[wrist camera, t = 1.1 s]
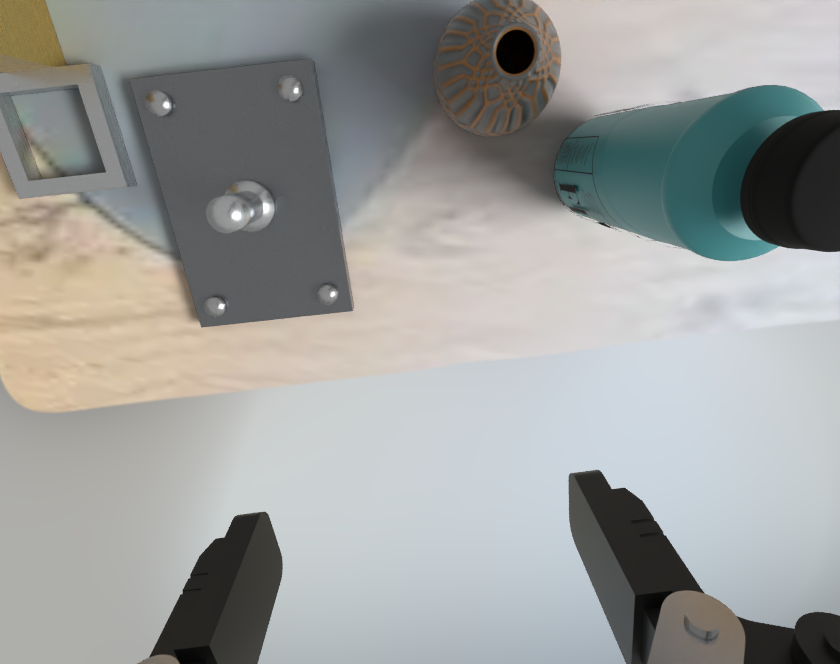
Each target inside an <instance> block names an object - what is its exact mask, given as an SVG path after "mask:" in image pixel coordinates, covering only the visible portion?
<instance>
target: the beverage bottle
mask: <svg viewBox="0 0 840 664" xmlns="http://www.w3.org/2000/svg"><path fill="white" fill-rule="evenodd" d="M657 103H658V102H657ZM646 106H647V105H646ZM639 107H643V105H642V106H639ZM634 108H637V107H634ZM634 108H632V107H631V109H633V110H632V111H627V112H622V113H618V112H619V111H618V110H616V111H615V112H617V114H611V115H606V116H601V117H597V118H594V119H591V120H589V121H587V122H585V123H584V124H582V125H581V126H579V127H578V128H577V129H576V130H575V131H573V132H572V133H571V135H570V136H569V137H568V138H566V139H567V140H566V139H565V140H566V141H565V140H564V141H565V143H564V144H563V143H562V144H563V146H562V145H561V146H562V148H561V147H560V148H561V150H560V149H559V150H560V152H559V151H558V152H559V154H557V155H558V157H556V158H557V161H555V162H556V165H555V166H554V168H555V169H554V170H555V182H554V184H555V183H556V187H557V190H558V193H559V196H560V197H561V199H562V200H563V203H565V204H566V205H567V206H568V207H569V208H570V209H571V210H572V211H573V212H574V213H575V212H576V213H578V214H580V215H583V216H585V217H588V218H591V219H594V220H597V221H600V222H597V223H599V224H601V225H604V226H606V227H609V226H610V225H612V229H613V226H615V227H618V228H621V229H624V230H627V231H628V232H629V231H630V232H633V233H636V234H639V235H642V236H645V237H648V238H651V239H654V240H655V241H660V242H664V243H669V244H672V245H675V246H678V247H682V248H685V249H688V250H691V251H692V252H694V253H696V254H698V255H701V256H703V257H706V258H710V259H714V260H720V261H738V260H745V259H750V258H754V257H757V256H760V255H763V254H765V253H767V252H769V251H771V250H773V249H775V248H777V247H779V246H782V247H786V248H793V249H809V250H815V251H823V252H837V251H840V110H828V111H823V109H822V108H821V107H820V106H819V105H818V104H817V103H816V102H815V101H814V100H813V99H812V98H810V97H809V96H807V95H806V94H804V93H802V92H800V91H798V90H796V89H793V88H789V87H786V86H778V85H763V86H757V87H751V88H746V89H743V90H740V91H737V92H734V93H730V94H725V95H719V96H714V97H708V98H703V99H698V100H692V101H687V102H680V103H674V104H669V105H662V106H653V107H648V108H643V109H638V110H635V109H634ZM631 109H627V110H631ZM620 111H622V110H620ZM623 111H625V110H623ZM606 113H607V112H606ZM612 113H614V111H613V112H612ZM603 114H604V113H603ZM603 114H600V115H603ZM607 114H609V113H607ZM596 116H598V115H596ZM556 187H555V189H556ZM556 192H557V191H556ZM557 195H558V194H557ZM559 196H558V197H559ZM559 199H560V198H559ZM560 201H561V200H560ZM563 205H564V204H563ZM571 210H570V211H571ZM572 211H571V212H572ZM576 216H577V215H576ZM578 216H579V215H578ZM580 217H581V216H580ZM583 219H584V218H583ZM586 220H587V219H586ZM594 220H593V221H594ZM601 222H603V223H601ZM605 223H606V224H609V226H608V225H606V224H605ZM609 228H611V227H609ZM615 229H616V228H615ZM617 231H618V230H617ZM620 232H621V231H620ZM631 234H632V233H631ZM637 237H638V236H637ZM646 241H647V240H646ZM667 247H668V246H667ZM673 248H675V247H673Z"/></svg>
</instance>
